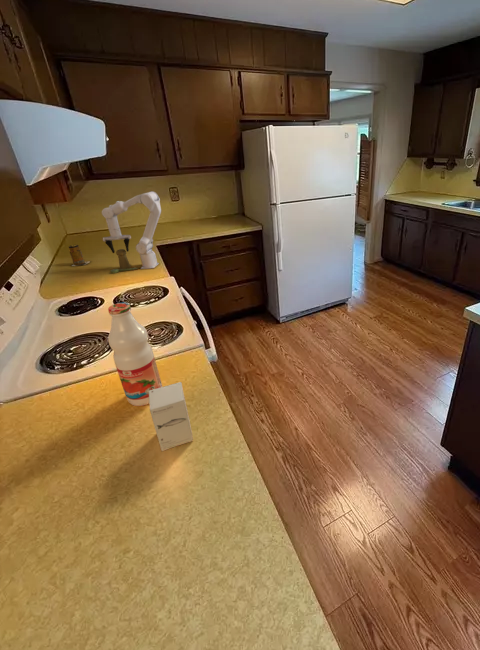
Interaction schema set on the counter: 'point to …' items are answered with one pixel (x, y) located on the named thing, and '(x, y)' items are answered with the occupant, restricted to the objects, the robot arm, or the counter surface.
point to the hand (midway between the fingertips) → (120, 251)
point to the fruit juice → (132, 355)
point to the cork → (123, 259)
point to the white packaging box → (170, 416)
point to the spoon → (122, 270)
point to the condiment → (77, 255)
